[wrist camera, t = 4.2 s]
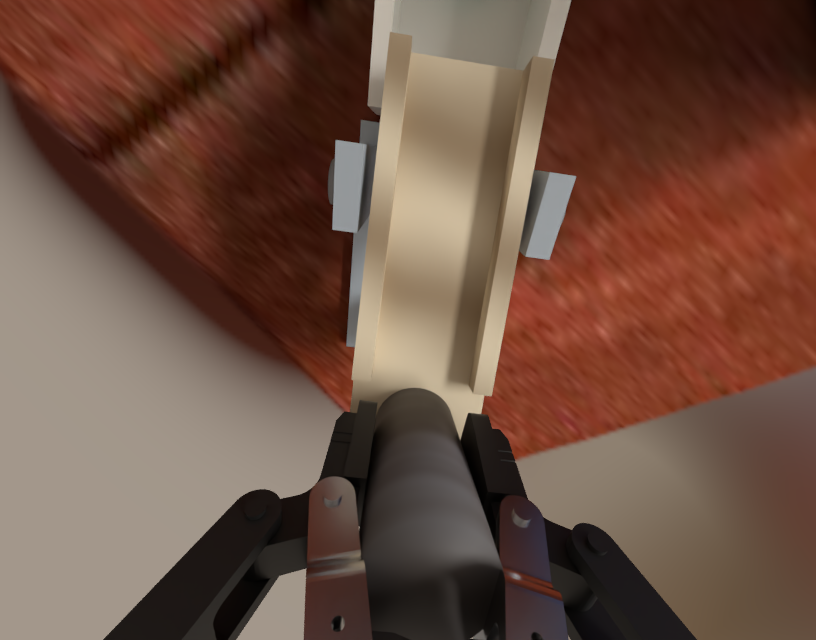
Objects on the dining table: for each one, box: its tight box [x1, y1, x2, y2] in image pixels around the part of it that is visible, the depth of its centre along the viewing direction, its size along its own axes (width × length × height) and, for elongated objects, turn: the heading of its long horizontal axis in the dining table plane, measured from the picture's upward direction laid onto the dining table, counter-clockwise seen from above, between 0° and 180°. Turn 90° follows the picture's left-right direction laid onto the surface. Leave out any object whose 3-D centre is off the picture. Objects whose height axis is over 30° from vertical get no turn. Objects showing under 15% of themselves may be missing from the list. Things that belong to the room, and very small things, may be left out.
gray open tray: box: [368, 0, 571, 116], centre depth 16 cm, size 10×8×4 cm
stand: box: [328, 120, 576, 347], centre depth 19 cm, size 15×10×9 cm, turn 172°
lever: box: [350, 32, 555, 640], centre depth 11 cm, size 17×6×9 cm, turn 171°
